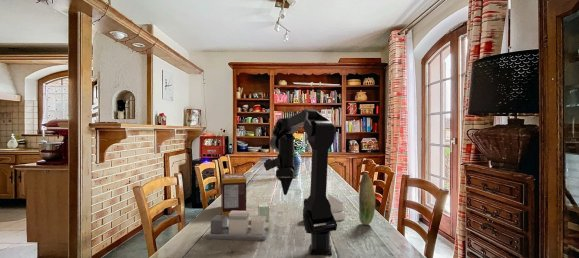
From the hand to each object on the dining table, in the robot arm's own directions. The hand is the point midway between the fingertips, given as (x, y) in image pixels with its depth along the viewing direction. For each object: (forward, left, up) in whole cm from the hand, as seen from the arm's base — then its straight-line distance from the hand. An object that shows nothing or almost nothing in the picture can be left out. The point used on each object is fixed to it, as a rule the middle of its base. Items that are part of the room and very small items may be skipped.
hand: (286, 192), depth 112 cm
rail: (-11, +16, -13) cm, 23 cm away
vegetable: (+3, -31, -13) cm, 34 cm away
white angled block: (+10, -20, -13) cm, 26 cm away
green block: (+7, +10, -13) cm, 18 cm away
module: (-11, +16, -12) cm, 23 cm away
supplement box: (+20, +26, -13) cm, 35 cm away
